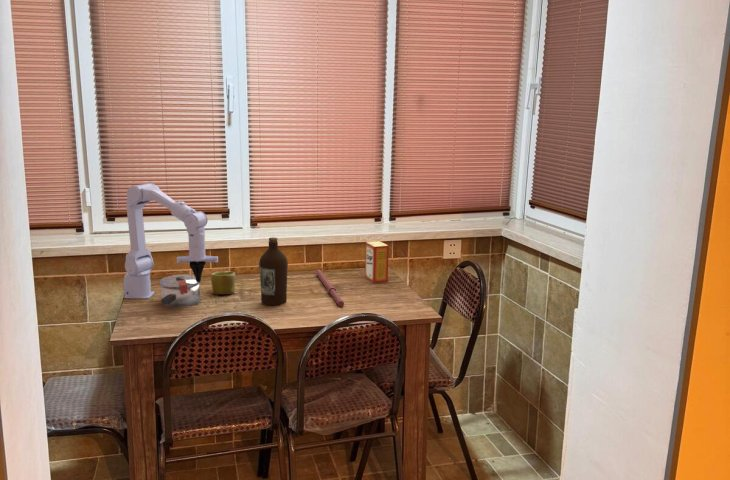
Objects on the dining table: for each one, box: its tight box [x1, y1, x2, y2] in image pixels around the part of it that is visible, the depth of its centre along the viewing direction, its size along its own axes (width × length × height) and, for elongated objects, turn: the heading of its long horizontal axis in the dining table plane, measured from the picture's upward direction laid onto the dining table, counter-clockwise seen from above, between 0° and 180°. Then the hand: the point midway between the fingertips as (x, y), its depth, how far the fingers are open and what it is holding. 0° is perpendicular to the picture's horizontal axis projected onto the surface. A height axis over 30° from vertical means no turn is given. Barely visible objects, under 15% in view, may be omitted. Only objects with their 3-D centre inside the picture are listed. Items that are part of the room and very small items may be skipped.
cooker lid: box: [159, 273, 201, 294], centre depth 239 cm, size 21×15×3 cm
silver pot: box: [160, 282, 201, 308], centre depth 240 cm, size 20×14×7 cm
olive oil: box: [258, 236, 289, 307], centre depth 242 cm, size 11×11×25 cm
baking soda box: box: [364, 240, 389, 284], centre depth 276 cm, size 10×6×16 cm
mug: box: [210, 270, 236, 296], centre depth 256 cm, size 12×10×10 cm
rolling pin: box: [315, 269, 345, 308], centre depth 261 cm, size 45×3×3 cm, turn 15°
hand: (198, 281), depth 236 cm, fingers closed
